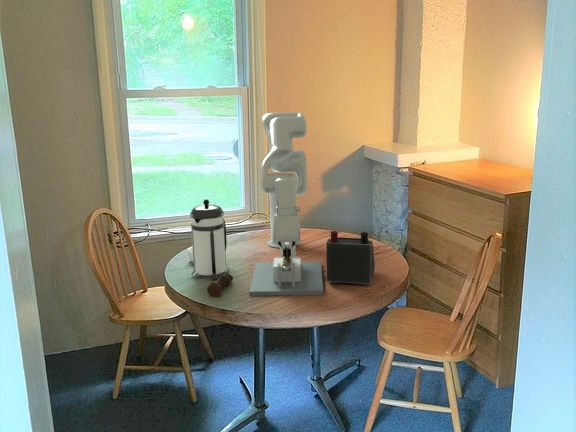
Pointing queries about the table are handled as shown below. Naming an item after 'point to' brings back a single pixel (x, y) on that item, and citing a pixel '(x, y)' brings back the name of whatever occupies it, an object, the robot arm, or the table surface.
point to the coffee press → (208, 240)
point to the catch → (293, 250)
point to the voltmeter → (349, 259)
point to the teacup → (190, 253)
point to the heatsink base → (286, 289)
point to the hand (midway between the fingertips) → (287, 258)
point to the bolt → (219, 285)
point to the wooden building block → (286, 264)
